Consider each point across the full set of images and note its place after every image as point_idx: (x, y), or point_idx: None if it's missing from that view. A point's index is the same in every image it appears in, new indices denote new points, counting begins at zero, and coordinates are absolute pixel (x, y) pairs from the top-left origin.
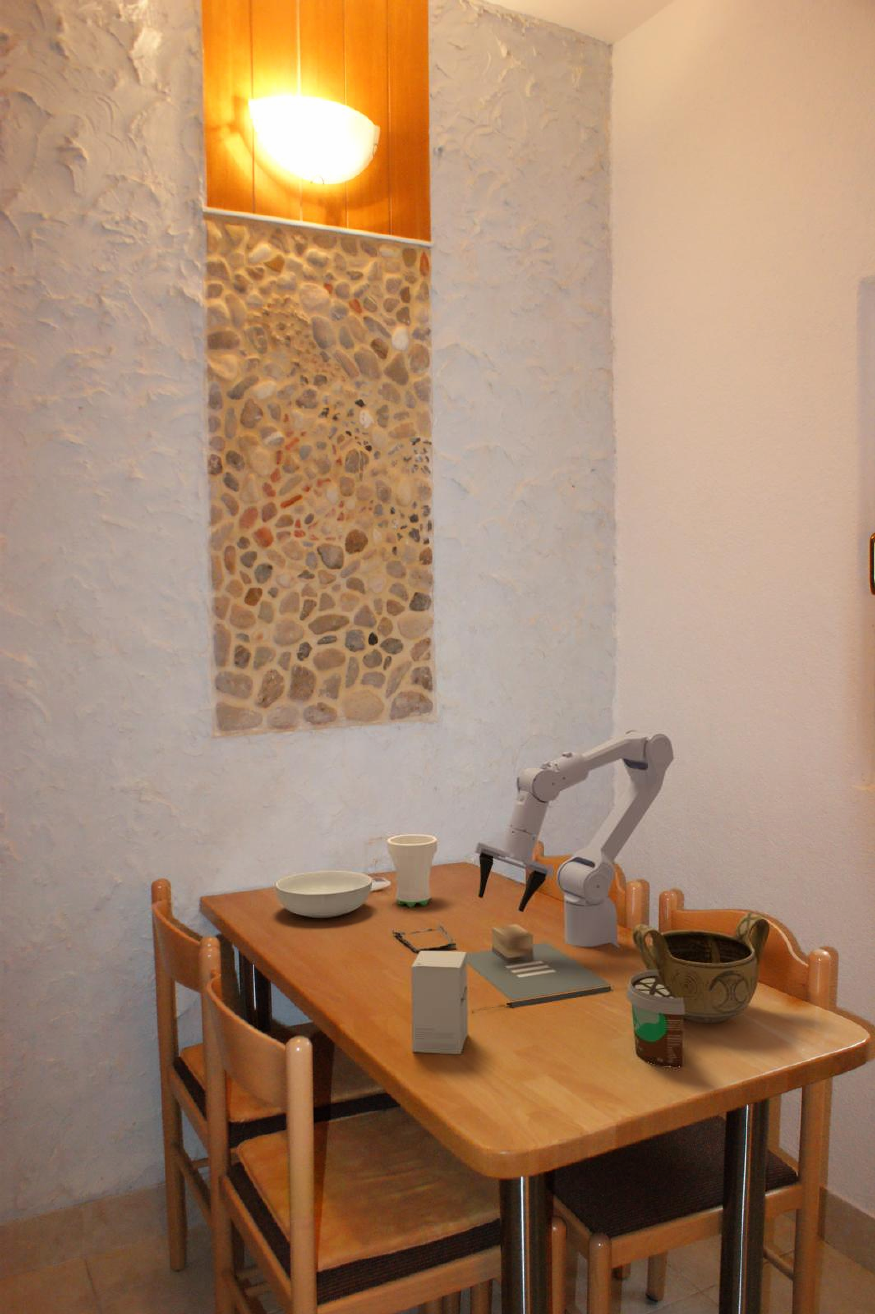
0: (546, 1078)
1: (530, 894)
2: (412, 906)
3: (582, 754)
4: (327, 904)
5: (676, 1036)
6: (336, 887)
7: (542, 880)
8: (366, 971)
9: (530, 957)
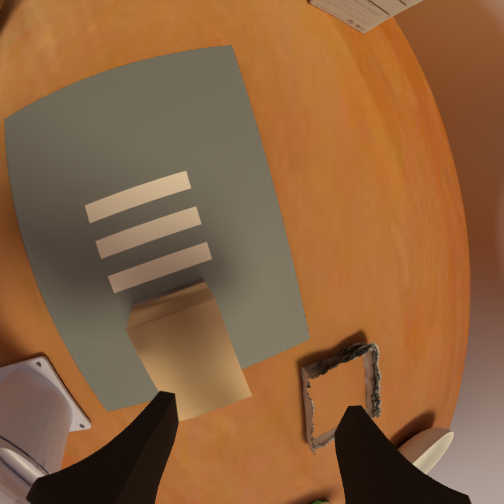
0: None
1: (120, 443)
2: (314, 501)
3: None
4: (425, 438)
5: None
6: None
7: (38, 486)
8: (423, 278)
9: (140, 302)
